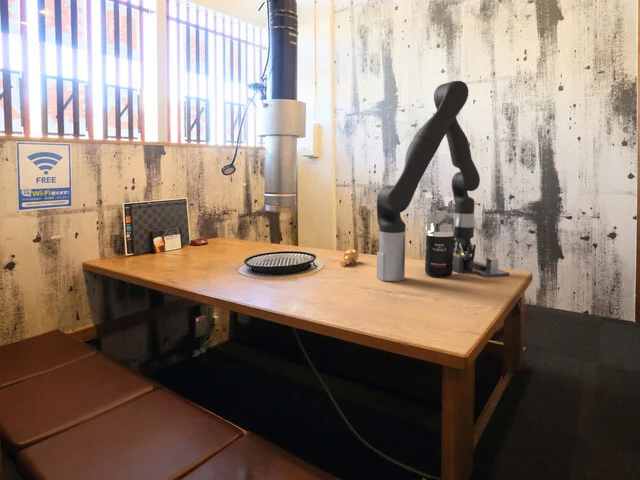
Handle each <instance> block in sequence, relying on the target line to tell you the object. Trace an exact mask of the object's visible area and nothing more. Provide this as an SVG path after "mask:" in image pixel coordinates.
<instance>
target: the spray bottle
mask: <svg viewBox="0 0 640 480" xmlns="http://www.w3.org/2000/svg"><path fill="white" fill-rule="evenodd" d="M425 225H426V227H425V256H424V260H425V261H424V273H425V275H427V276H429V277H432V278H448V277H450V276H452V274H453V272H454V271H453V248H454V239H455V237H454V235H455V234H454V227H455V222H454V216H452V215H451V213H449V212H448V211H447V210H446V209H444V208H443V207H438V208H437V209H435V211H433V212H431V214H430V215H429V216H428V218H427V219H426V221H425ZM454 249H455V248H454Z"/></svg>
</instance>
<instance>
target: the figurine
mask: <svg viewBox="0 0 640 480" xmlns="http://www.w3.org/2000/svg"><path fill="white" fill-rule="evenodd" d="M358 259H359V251H358V249H355V248H349V249H346V251H345V252H344V255H343V260H342V261H340V263H339V265H341V266H342V268H343V267H344V268H346V267H347V265H350V264H352V265H354V263H357V261H358Z"/></svg>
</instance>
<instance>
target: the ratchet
mask: <svg viewBox="0 0 640 480" xmlns="http://www.w3.org/2000/svg"><path fill="white" fill-rule="evenodd" d="M485 261H486V263H482V262H479V261H477V260H474V261H473V274H476V275H478V276H481V277H484V278H495V277H496V278H497V277H507V276H508V277H509V276H510V272H507V271H505V270H502V269H500V268H499V258H496V257H486V260H485Z"/></svg>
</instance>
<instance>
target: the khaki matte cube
mask: <svg viewBox="0 0 640 480" xmlns="http://www.w3.org/2000/svg"><path fill="white" fill-rule="evenodd" d="M471 256H472V254H471ZM466 257H467V255H466ZM473 261H475V259H474V260H470V269H469V270H466V271H465V270H464V269H463V268H464V255H462V253H461V252H460V253H453V272H455V273H456V274H467V273H471V274H472V273H474V269H473Z"/></svg>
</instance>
